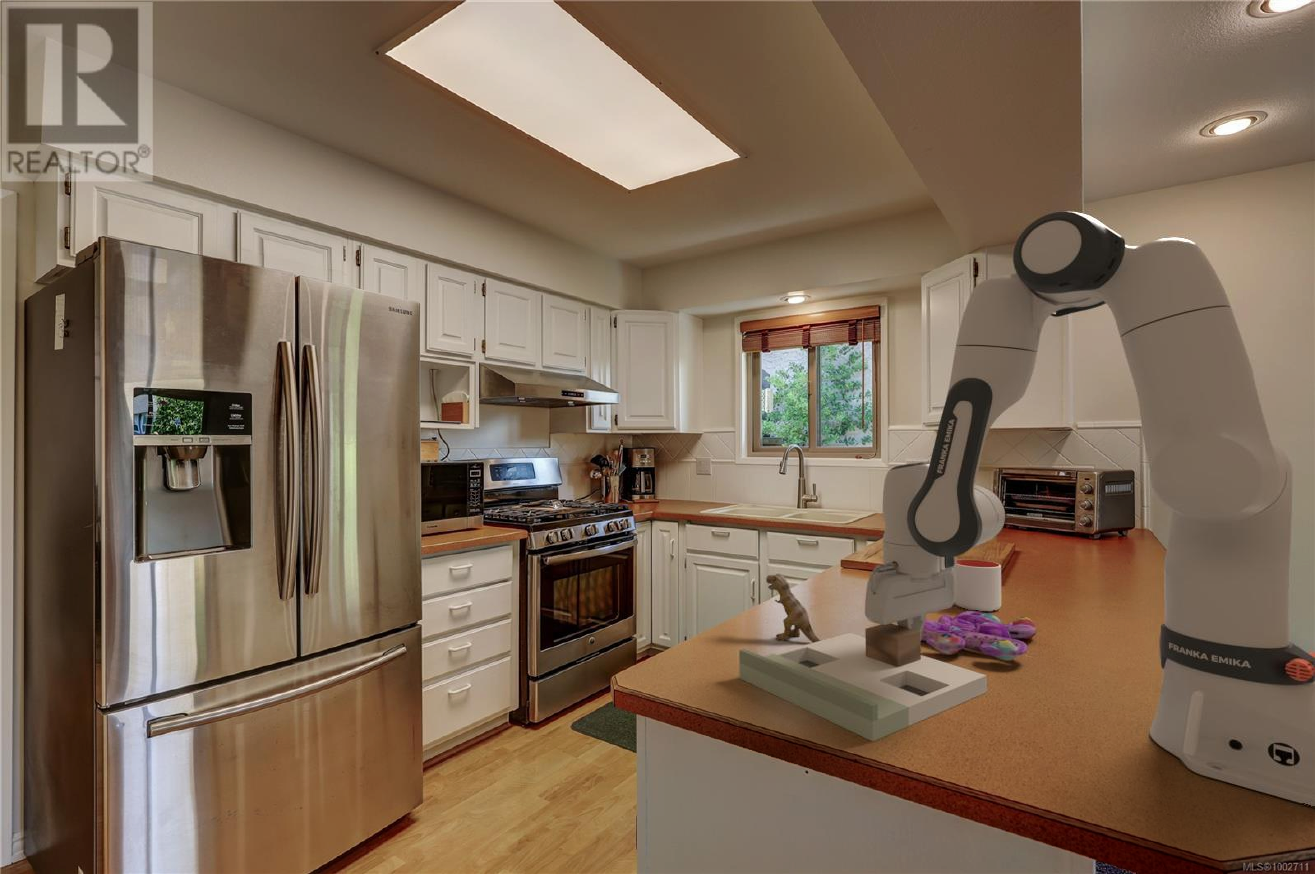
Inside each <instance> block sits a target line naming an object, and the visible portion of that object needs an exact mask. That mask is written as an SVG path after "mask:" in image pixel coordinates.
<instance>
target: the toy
mask: <svg viewBox="0 0 1315 874" xmlns="http://www.w3.org/2000/svg"><path fill="white" fill-rule="evenodd" d="M765 581H766V583H767V584H769V585H768V589H769V590H774V591H777V592H778V594H779V600H777V599H775V600H774V602H776V603H777V604H780V605H782V606H783V608H784V612H785V614H786V617H785V618H784V619H783V626H784V629H783V633H777V634H776V635H775V637H776V639H775V640H777V639H778V640H777V641H780V640H779V639H782V640H781V641H789V640H790V637H797V636H799V637H800V636H801V632H802V634H803V635H804V636H805V637H806V638H807V639H808V640H809V641H811V643H814V642H818V641H822V640H821V639H819V638H818V637H817V635H816V633H815V632H814V629H813V628H812V625H811V622H810V618H809V614H808V611H807V610H806V607H804V606H803V605H802V603H801V602H800V601H799V600H798V599H797V598H796V596H795V595H794V593H793V592H792V591H791V587H790V584H789V582H788V581H787V579H786V578H785V576H784V574H781V573H776V574H769V575H767V576H766V578H765ZM792 626H793V627H794V628H793V629H792ZM800 631H801V632H800ZM784 639H785V640H784ZM788 639H789V640H788Z"/></svg>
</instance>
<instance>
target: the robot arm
mask: <svg viewBox="0 0 1315 874" xmlns="http://www.w3.org/2000/svg"><path fill="white" fill-rule="evenodd" d="M1012 262H1013V267H1014V271H1015V273H1011V274H1010V275H1009V274H1006V275H1005V274H1003V275H997V276H992V277H989V278H987V279H983V281H981V282H979V283H978V284H977V285H976V286H975V287H974V288H973V290H972V292H971V294H970V296H969V298H968V301H967V304H966V306H965V308H964V311H963V315H962V319H961V322H960V326H959V328H958V329H959V330H958V334H957V339H956V344H955V350H954V355H953V362H952V367H951V374H950V381H949V385H948V390H947V392H946V398H945V402H944V405H943V406H944V407H943V409H942V412H941V416H940V421H939V425H938V429H937V433H936V436H935V441H934V445H933V450H932V453H931V458H930V461H929V462H925V461H924V462H915V463H907V464H900V465H897V466H894V467H892V468H890V469H889V470H888V471H887V472H886V475H885V477H884V481H883V483H884V484H883V490H882V517H883V522H884V525H885V526H884V532H883V537H882V564H881V563H880V564H877V565H876V566H875V567H874V569H873V570H872V571H871V573H870V574H869V575H870V576H869V578H868V580H867V585H866V589H865V600H864V601H865V602H864V603H865V604H864V616H865V617H866V619H867V620H868V621H869V622H871V623H875V624H878V625H887V624H895V623H896V625H898V626H902V627H906V628H909V629H913V630H916V631H920V634H921V631H922V629H923V627H924V624H925V621H926V620H927V615H928V614H931V613H936V612H939V611H944V610H946V609H947V610H948V609H951V608H952V607H953V605H954V601H955V589H956V579H955V572H954V570H953V568H954V567H956V564H957V560H958V559H957V558H958V556H961V555H963V554H965V553H967V552H968V551H970V550H971V549H972V548H975V547H978V546H980V545H982V544H984V543H986V542H989V541H990V540H993V539H994V538H996V537H997V536H998V535H999V534H1000V533H1001V532H1002V530H1003V528H1004V527H1005V524H1006V518H1007V517H1006V514H1007V513H1006V508H1005V506H1004V504H1003V502H1002V500H1001V498H1000V497H999V496H998V495H997V494H996V493H995V492H993V491H992V490H991V489H989V488H987V487H984V486H981V485H978V484H976V480H977V475H978V472H979V467H980V464H981V463H980V462H981V460H982V459H981V458H982V455H983V454H982V453H983V450H984V447H985V441H986V438H987V435H988V433H989V431H990V429H991V427H992V426H993V425H994V423H995V422H996V420H997V419H998V418H999V417H1000V416H1001V415H1002V414H1003V413H1005V412H1006V411H1007V410H1008V409H1010V408H1011V407H1012V406H1014V405H1015V404H1017V403H1018V402H1019V401H1020V400H1021V399H1022V398H1023V397H1024V395H1025V394H1026V391H1027V388H1028V387H1029V385H1030V382H1031V379H1032V376H1033V373H1034V369H1035V365H1036V362H1037V355H1038V351H1039V344H1040V338H1041V333H1042V330H1043V327H1044V324H1045V322H1046V320H1047V319H1048V318H1049V317H1050V316H1051V317H1054V318H1059V317H1064V316H1067V315H1071V314H1075V313H1079V312H1083V311H1087V310H1091V309H1092V310H1093V309H1096V308H1098V307H1101V306H1103V305H1107V306H1108V308H1109V309H1110V310H1111V311H1110V312H1111V314H1112V315H1113V317H1114V320H1115V323H1116V326H1117V330H1118V333H1119V337H1120V340H1121V341H1120V342H1121V343H1122V347H1123V350H1124V353H1125V358H1126V361H1127V364H1128V368H1129V371H1130V375H1131V377H1132V381H1133V384H1134V388H1135V391H1136V396H1137V400H1138V407H1139V414H1140V423H1141V429H1142V430H1141V431H1142V437H1143V443H1144V448H1145V453H1146V454H1145V455H1146V458H1147V463H1148V466H1149V467H1148V468H1149V477H1150V478H1149V479H1150V483H1151V486H1152V490H1154V491H1153V492H1155V494H1156V495H1157V497H1158V499H1160V501H1161V502H1162V503H1164V505H1165V506H1167V507H1168V508H1169V509H1171V518H1170V527H1169V533H1168V540H1167V547H1166V548H1167V549H1166V554H1165V557H1164V562H1163V582H1164V583H1163V585H1164V586H1163V588H1164V589H1163V590H1164V591H1163V592H1164V593H1163V594H1164V595H1163V596H1164V623H1162V624H1161V625H1160V632H1159V640H1158V641H1159V646H1158V647H1159V648H1158V649H1159V658H1160V666H1161V668H1162V670H1163V672H1162V673H1163V674H1162V682H1161V688H1160V695H1159V698H1158V699H1159V700H1158V705H1157V710H1156V712H1155V716H1154V719H1153V722H1152V724H1151V726H1150V729H1149V735H1150V737H1151V739H1152V740H1153V741H1154V742H1155V743H1156V744H1157V745H1159V746H1160V747H1162V749H1165V750H1166V751H1167V752H1169V753H1171V754H1172V755H1174V756H1176V757H1177V758H1179V759H1180V760H1181V762H1182V763H1183V764H1184V765H1185V766H1186V767H1187V768H1188V769H1189V770H1191V771H1192V772H1194V773H1196V774H1198V775H1201V776H1203V777H1204V776H1205V777H1208V778H1211V779H1215V780H1219V781H1222V782H1225V783H1229V784H1233V785H1237V786H1240V787H1243V788H1246V789H1250V790H1252V791H1253V790H1254V791H1258V792H1261V793H1264V794H1267V795H1272V796H1275V797H1278V798H1282V799H1285V800H1289V801H1292V802H1295V803H1299V804H1302V803H1306V804H1309V805H1311V806H1310V807H1313V806H1315V651H1310V652H1309V653H1308V652H1307V651H1305V650H1304V649H1302V648H1301V647H1299V646H1298V645H1296V644H1294V643H1293V642H1291V637H1290V636H1291V635H1290V634H1291V633H1290V628H1291V627H1290V582H1289V581H1290V558H1291V536H1292V533H1291V532H1292V516H1293V515H1292V513H1293V511H1292V508H1293V467H1292V464H1291V461H1290V459H1289V457H1288V455H1287V453H1286V452H1285V451H1284V450H1283V449H1282V448H1281V447H1280V446H1279V445H1278V444H1277V443H1275V442H1274V441H1273V440H1271V438H1270V434H1269V432H1268V427H1267V423H1266V420H1265V418H1264V417H1265V416H1264V414H1263V409H1262V406H1261V402H1260V399H1259V395H1258V390H1257V386H1256V381H1255V377H1254V370H1253V367H1252V365H1251V362H1250V358H1249V355H1248V353H1247V349H1246V347H1245V343H1244V341H1243V340H1244V339H1243V337H1242V335H1241V332H1240V329H1239V326H1238V324H1237V321H1236V318H1235V315H1234V312H1233V308H1232V306H1231V304H1230V300H1229V298H1228V295H1227V293H1226V291H1225V289H1224V286H1223V284H1222V282H1221V280H1220V278H1219V276H1218V274H1217V273H1216V270H1215V269H1214V267H1213V265H1212V264H1211V262H1210V260H1209V259H1208V257H1207V256H1206V254H1205V253H1204V251H1203V250H1202V248H1201V247H1199V245H1198V244H1197V243H1196V242H1193V241H1191V240H1189V239H1185V238H1180V237H1168V238H1167V237H1166V238H1159V239H1155V240H1151V241H1148V242H1145V243H1142V244H1139V245H1134V246H1133V245H1132V246H1131V245H1126V241H1125V238H1124V237H1123V236H1122V235H1120V234H1118V233H1117V232H1116V231H1114V230H1112V229H1111V228H1109V227H1108V226H1107V225H1105V224H1104V223H1102V222H1100V221H1099V220H1098V219H1096V218H1094V216H1093V217H1092V216H1091V215H1088V214H1085V213H1081V212H1077V211H1072V210H1071V211H1068V210H1066V211H1062V210H1061V211H1056V212H1052V213H1047V214H1045V215H1043V216H1041V217H1039V218H1037V219H1036V220H1034V221H1033V222H1031V223H1030V224H1029V225H1028V226H1027V227H1026V228H1025V229H1024V230H1023V231H1022V232H1021V234H1020V236H1019V237H1018V239H1017V240H1016V243H1015V245H1014V248H1013V254H1012ZM1306 804H1305V805H1306ZM1309 805H1308V806H1309ZM1312 805H1313V806H1312Z"/></svg>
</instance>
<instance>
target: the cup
mask: <svg viewBox="0 0 1315 874" xmlns="http://www.w3.org/2000/svg"><path fill="white" fill-rule="evenodd" d="M953 570H954V572H955V579H956V589H955V601H954V603H953V605H955V606H956V605H957V607H958V606H959V607H958V608H960V607H962V608H961V609H963V608H965V609H964V610H967V609H969V610H968V611H972V610H979V611H978V612H982V611H988V612H994V611H993V610H995V611H997V610H999V609H1000V608H1001V607H1002V565H1001V564H1000V563H997V562H993V561H990V560H989V561H988V560H981V559H967V558H963V559H957V564H956V567H954V568H953Z"/></svg>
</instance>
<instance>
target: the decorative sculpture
mask: <svg viewBox="0 0 1315 874" xmlns="http://www.w3.org/2000/svg"><path fill="white" fill-rule="evenodd" d="M1037 632H1038V631H1037V625H1036V623H1035V622H1034V621H1033V620H1032V619H1031V618H1029V617H1025V616H1021V617H1020V616H1019V617H1017V618H1015V619H1014V620H1013V621H1012V622H1008V623H1002V621H1001V620H1000V618H998V616H996V615H994V614H992V613H987V612H986V613H985V612H981V611H972V610H967V611H963V612H961V613H959V614H956V615H954V616H953V617H951V616H949V615H946V614H944V615H941V616H939V617H938V621H935V620H930V619H926V621H925V624H924V627H923V629H922V631H921V641H922V642H926V643H927V644H928V645H930V646H931V647H933V648H934V649H935V650H936V651H937V652H938V653H940V654H944V655H948V656H950V655H951V656H952V655H954V654H956V653H958V652H959V650H963V649H964V648H969V649H973V650H974V649H975V650H980V651H981V652H982V653H983V654H984V655H987V656H990V657H995V658H997V659H999V660H1002V661H1005V662H1006V661H1012V660H1013V661H1014V660H1015V659H1016V658H1017V656H1021V655H1023V654H1027V652H1028V650H1029V648H1028V647H1029V646H1027V644H1026V643H1025V642H1024V641H1021V640H1019V639H1022V638H1023V640H1030V639H1032V638H1033V637H1035V636H1036V635H1037Z"/></svg>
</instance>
